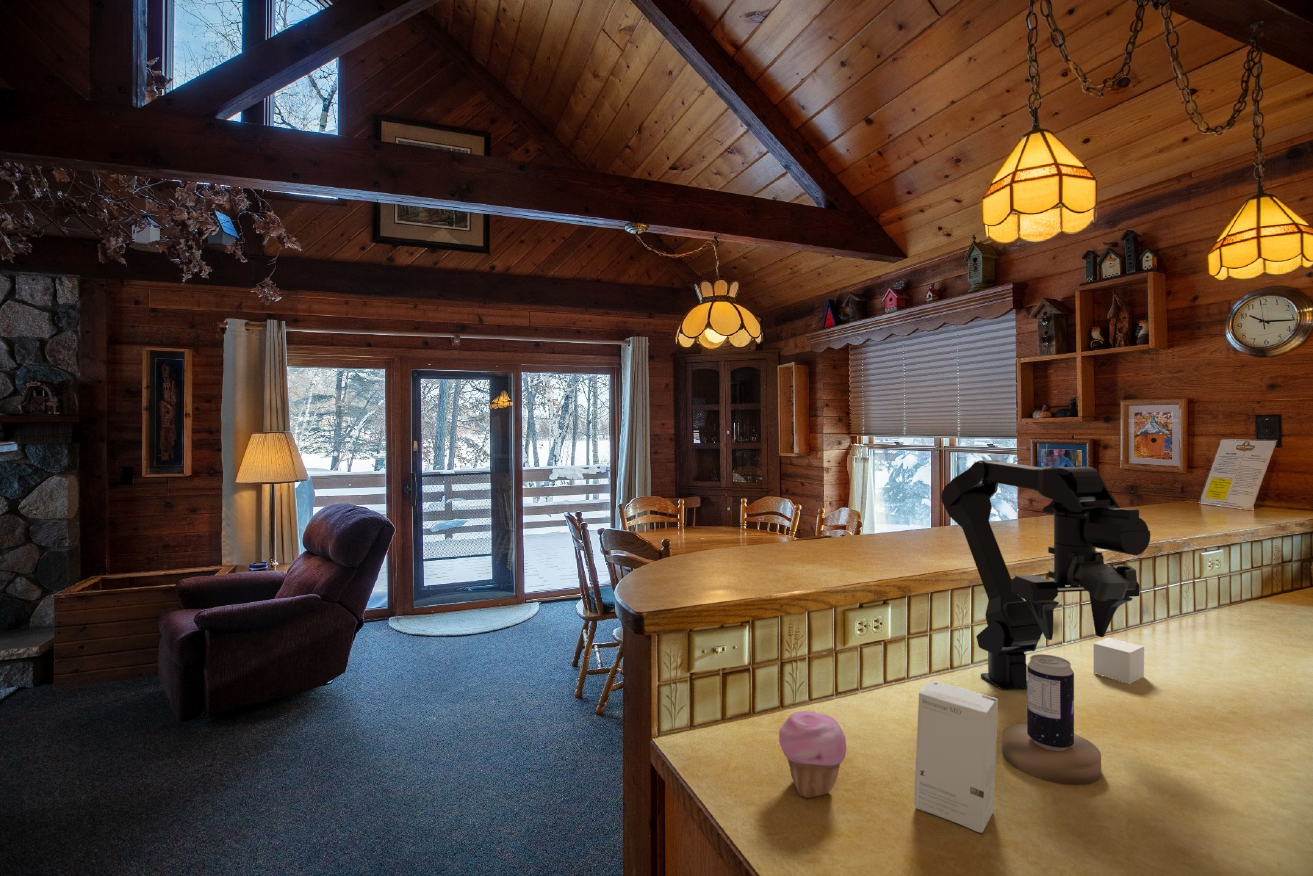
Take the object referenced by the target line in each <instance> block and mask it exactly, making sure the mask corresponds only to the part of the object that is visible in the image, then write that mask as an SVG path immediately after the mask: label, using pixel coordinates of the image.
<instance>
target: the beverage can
mask: <svg viewBox="0 0 1313 876" xmlns="http://www.w3.org/2000/svg"><path fill="white" fill-rule="evenodd" d="M1071 666H1072V665H1071V662H1070V661H1069V660H1067V659H1065V658H1063V657H1060V656H1056V655H1051V654H1043V653H1042V654H1040V653H1039V654H1033V655H1031V656H1030V660H1029V662H1028V663H1027V688H1026V691H1027V692H1026V695H1027V696H1026V698H1027V700H1026V703H1027V704H1026V715H1027V716H1026V717H1027V718H1026V724H1027V734H1028V735H1029V736H1030V738H1031V739H1033V741H1034V742H1035V743H1036V744H1037V745H1039V746H1040V747H1043V748H1045V749H1049V750H1054V751H1064V750H1066V749H1067V748H1068V747H1070V746H1072V745H1073V744H1074V734H1075V673H1074V670H1073V669H1072V667H1071Z"/></svg>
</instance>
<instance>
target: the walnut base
mask: <svg viewBox="0 0 1313 876" xmlns="http://www.w3.org/2000/svg"><path fill="white" fill-rule="evenodd" d="M1001 738H1002V739H1001V745H1002V746H1001V747H1002V748H1001V750H1002V755H1003V757H1004V758H1005V760H1006V761H1007V762H1008V763H1010V764H1011V765H1012V766H1013V767H1015V768H1016V769H1017V770H1020V771H1021V772H1024V773H1025V774H1028V775H1030V776H1032V777H1035V778H1037V779H1040V780H1045V781H1048V782H1052V783H1057V784H1062V785H1072V786H1073V785H1074V786H1075V785H1076V786H1078V785H1087V784H1093V783H1096V782H1098V780H1100V779H1101V777H1102V754H1101V751H1100V749H1099V748H1098V747H1097V746H1096V745H1094V743H1092V742H1091V741H1090V740H1089V739H1087V738H1084V737H1083V736H1080V735H1078V734H1076V733H1074V744H1073V745H1072V746H1070V747H1068V748H1067V749H1066V750H1064V751H1054V750H1049V749H1045V748H1043V747H1040V746H1039V745H1037V744H1036V743H1035V742H1034V741H1033V739H1031V738H1030V736H1029V735H1028V734H1027V723H1017V724H1012V725H1009V726H1007V727H1006V728H1004V729H1003V730H1002V733H1001Z"/></svg>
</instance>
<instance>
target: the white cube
mask: <svg viewBox="0 0 1313 876" xmlns="http://www.w3.org/2000/svg"><path fill="white" fill-rule="evenodd" d="M1094 673H1097V674H1099V675H1104V676H1105V677H1104V678H1106V677H1109V678H1113V679H1115V680H1114V681H1116V680H1118V681H1117V682H1120V681H1123V682H1124V684H1126V683H1129V684H1128V685H1132V684H1134V683H1135V682H1134V681H1136V680H1138V681H1139V679H1140V678H1142V677H1143V678H1145V646H1144V645H1140V644H1136V643H1131V642H1128V641H1123V640H1121V639H1120V640H1119V639H1115V638H1112V637H1107V638H1104V639H1101V640H1099V641H1097V642H1094V643H1093V674H1094ZM1099 675H1098V676H1099ZM1109 678H1108V679H1109ZM1143 678H1142V679H1143ZM1113 679H1112V680H1113ZM1140 680H1141V679H1140ZM1123 682H1122V683H1123ZM1133 682H1134V683H1133ZM1136 682H1137V681H1136ZM1131 683H1132V684H1131Z"/></svg>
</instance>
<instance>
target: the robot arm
mask: <svg viewBox="0 0 1313 876" xmlns="http://www.w3.org/2000/svg"><path fill="white" fill-rule="evenodd" d="M999 484H1000V485H1007V486H1012V487H1017V488H1023V489H1027V490H1032V491H1035V492H1037V493H1039V494H1040V495H1041V496H1042V497H1043V498H1047V499H1050V500H1051V502H1050V503H1048V504H1047V505H1046V506H1044V507H1042V513H1045V514H1052V515H1053V546H1048V547H1047V548H1048V549H1047V551H1048V554H1052V555H1053V570H1048V573H1047V574H1048V575H1047V576H1048V578H1051V579H1053V580H1050V579H1048V578H1044V577H1041V576H1038V575H1035V574H1033V575H1032V574H1029V575H1027V574H1026V575H1014V577H1013V579H1012V577H1011V575H1010V572H1009V570H1008V566H1007V564H1006V562H1005V559H1004V557H1003V554H1002V552H1001V549H1000V546H999V544H998V542H997V539H996V537H995V534H994V531H993V528H992V526H991V523H990V517H991V512H992V508H993V507H992V506H993V505H992V502H991V498H992V497H993V496H994V495H995V494H996V493H997V492H998V489H999ZM940 496H941V498H940V499H941V502H942V505H943V507H944V509H945V510H946V513H947V514H948V516H949V517H950V518H951V519H952V520H953V522H955V523H956V524H957V525H959V527H961V529H962V531H963V534H964V537H965V539H966V542H967V545H968V548H969V551H970V553H971V555H972V556H971V557H972V559H973V561H974V564H975V567H976V569H977V571H978V574H979V577H980V580H981V583H982V585H983V588H984V591H985V594H986V596H987V597H986V598H987V600H988V602H987V606H986V609H985V616H984V617H985V621H986V624H987V626H986V627H985V628H984V629H983V630H981V631H980V632H979V633H978V634H977V635H976V641H977V646H978V648H979V649H982V650H984V651H986V652H987V672H983V673H980V677H981V678H983V679H984V680H986V681H987V682H989V683H991V684H992V685H994V686H996V687H997V688H998V689H1001V690H1005V691H1006V690H1016V689H1017V690H1019V689H1027V665H1028V663H1027V654H1025V653H1026V652H1035V651H1036V650H1037V647H1038V643H1039V642H1040V640H1041V637H1042V635H1043V637H1044V638H1045V639H1046V640H1048V641H1052V640H1053V637H1054V610H1055V609H1056V608H1057V606H1059V603H1060V602H1059V601H1057V600H1055V599H1056V598H1057V597H1058V596H1059V593H1073V592H1075V593H1076V592H1088V595H1089V602H1090V607H1091V614H1092V620H1093V626H1094V631H1095V635H1096V636H1097V637H1100V638H1104V637H1105V635H1106V632H1107V631H1108V629H1109V626H1110V624H1111V622H1112V619H1113V618H1114V615H1115V613H1116V612H1117V610H1118V609H1119V607H1120V606H1122V605H1124V604H1125V603H1128V602H1131V601H1133V599H1134V597H1140V596H1141V595H1140V589H1141V588H1140V584H1139V582H1138V579H1137V570H1136V569H1135V568H1133V567H1132V566H1131V565H1118V566H1117V567H1116V566H1115V565H1114V566H1108V565H1107V564H1105V561H1104V560H1105V559H1104V555H1103V552H1101V551H1097V549H1099V550H1106V551H1111V552H1116V553H1121V554H1125V555H1132V556H1138V555H1142V554H1143V553H1144V552H1145V551H1146V550H1147V549H1148V546H1149V545H1150V541H1151V530H1149V526H1148V525H1147V523H1146V522H1145V520H1144V519H1143V518H1141V517H1140V510H1139V509H1137V508H1136V509H1135V508H1121V506H1120V505H1119V503H1118V502H1117V501H1116V499H1115V497H1114V496H1113V494H1112V493H1111V491H1110V490H1109V488H1108V487H1107V485H1106V484H1105V483H1104V481H1103V478H1102V476H1101V474H1100V473H1099V471H1098V470H1097V469H1096V468H1095V467H1092V466H1071V467H1049V468H1046V467H1040V466H1033V465H1025V464H1019V463H1018V464H1017V463H1011V462H1005V461H1000V460H998V459H986V460H985V459H984V460H982V459H981V460H978V461H975V462H973V463H972V464H971V466H970V467H969V468H968V469H966V470H965V471H963V472H961V473H960V474H958V475H957V476H955V477H953V478H952V479H951V481H949V483H947V484H946V485H945V486H944V487H943V489H942V492H941V494H940Z"/></svg>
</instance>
